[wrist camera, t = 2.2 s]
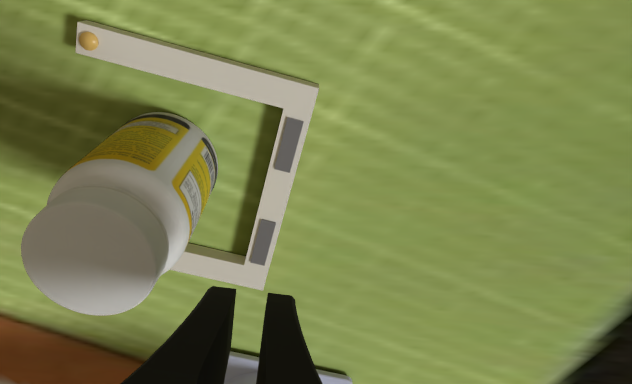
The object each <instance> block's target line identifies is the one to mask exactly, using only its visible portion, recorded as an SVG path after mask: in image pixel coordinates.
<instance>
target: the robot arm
mask: <svg viewBox="0 0 632 384" xmlns="http://www.w3.org/2000/svg"><path fill="white" fill-rule="evenodd" d="M235 296H236V289H231V288H223V287H215V286H212V287H211V288H209V289H208V290H207V292H206V293H205V295H204V296H203V298H202V299H201V300H200V302H199V303H198V304H197V306H196V307H195V308H194V310H193V311H192V312H191V313H190V314H189V316H188V317H187V318H186V319H185V321H184V322H183V323H182V324H181V325H180V326H179V327H178V328H177V330H176V331H175V332H174V333H173V334H172V335H171V336H170V337H169V338H168V340H167V341H166V342H165V343H164V344H163V345H162V346H161V347H160V348H159V349H158V350H157V351H156V352H155V353H154V354H153V355H152V356H151V357H150V358H149V359H148V360H147V361H146V362H145V363H143V364H142V365H141V366H140V367H139V368H138V369H137V370H136V371H135V372H134V373H132V374H131V375H130V376H129V377H128V378H127V379H125V380H124V381H123V382H122V383H121V384H352V379H351V378H350V377H349V376H346V375H342V374H337V373H332V372H327V371H323V370H318V369H316V368H315V366H314V363H313V361H312V359H311V356H310V353H309V351H308V348H307V345H306V343H305V340H304V337H303V334H302V331H301V327H300V324H299V320H298V316H297V311H296V305H295V299H294V298H293V297H292V296H290V295H281V294H273V293H268V297H267V303H266V310H265V317H264V325H263V333H262V341H261V348H260V356H259V357H255V356H251V355H246V354H241V353H236V352H231V351H230V349H231V339H232V328H233V318H234V307H235Z"/></svg>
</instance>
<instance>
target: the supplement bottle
mask: <svg viewBox="0 0 632 384" xmlns="http://www.w3.org/2000/svg"><path fill="white" fill-rule="evenodd" d="M217 174H218V161H217V156H216V152H215V149H214V147H213V145H212V143H211V142H210V140H209V138H208V137H207V136H206V135H205V133H204V132H203V131H202V130H201V129H200V128H198V127H197V126H196V125H194V124H193V123H191V122H190V121H188V120H187V119H184V118H182V117H180V116H178V115H175V114H171V113H166V112H152V113H146V114H142V115H140V116H137V117H135V118H133V119H131V120H130V121H128V122H127V123H126V124H124V125H123V126H122V127H120V128H119V129H118V130H117V131H116V132H114V133H113V134H112V135H111V136H110V137H108V138H107V139H106V140H105V141H103V142H102V143H101V144H100V145H98V146H97V147H96V148H95V149H94V150H92V151H91V152H90V153H89V154H87V155H86V156H85V157H84V158H83V159H81V160H80V161H79V162H78V163H76V164H75V165H74V166H73V167H71V168H70V169H69V170H68V171H66V172H65V173H64V174H63V175H62V177H61V178H60V179H59V180H58V181H57V183H56V184H55V186H54V187H53V189H52V191H51V193H50V195H49V198H48V201H47V206H46V207H45V208H43V209H42V210H41V211H40V212H39V213H38V214H37V215H36V216H35V217H34V218H33V219H32V221H31V222H30V223H29V225H28V226H27V228H26V230H25V232H24V235H23V238H22V244H21V254H22V259H23V264H24V267H25V269H26V272H27V274H28V275H29V277H30V279H31V280H32V281H33V283H34V284H35V285H36V286H37V288H38V289H39V290H40V291H41V292H43V293H44V294H45V295H46V296H47V297H48V298H50V299H51V300H52V301H54V302H56V303H57V304H59V305H61V306H63V307H65V308H68V309H70V310H73V311H76V312H79V313H83V314H89V315H114V314H118V313H122V312H125V311H127V310H129V309H131V308H133V307H135V306H137V305H138V304H139V303H141V302H142V301H143V300H144V299H145V298H146V297H147V296H148V295H149V293H150V292H151V290H152V289H153V287H154V285H155V283H156V282H157V280H158V278H159V277H160V276H161V275H162V274H164V273H165V272H167V271H168V270H169V269H170V268H172V267H173V266H174V265H175V263H176V262H177V261H178V260H179V259H180V257H181V256H182V254H183V253H184V251H185V249H186V247H187V244H188V242H189V240H190V238H191V236H192V233H193V231H194V229H195V227H196V225H197V222H198V220H199V218H200V216H201V214H202V212H203V209H204V207H205V205H206V203H207V201H208V198H209V196H210V194H211V192H212V190H213V188H214V185H215V182H216V179H217Z"/></svg>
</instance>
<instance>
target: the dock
mask: <svg viewBox="0 0 632 384" xmlns="http://www.w3.org/2000/svg"><path fill="white" fill-rule="evenodd" d="M76 53H78V54H82V55H86V56H90V57H93V58H97V59H101V60H104V61H108V62H112V63H116V64H119V65H123V66H127V67H131V68H134V69H138V70H142V71H145V72H149V73H153V74H157V75H160V76H164V77H168V78H172V79H175V80H179V81H183V82H186V83H190V84H194V85H198V86H201V87H205V88H209V89H212V90H216V91H220V92H224V93H227V94H231V95H235V96H239V97H242V98H246V99H250V100H253V101H257V102H261V103H265V104H268V105H272V106H276V107H279V108H283V113H282V116H281V120H280V124H279V128H278V132H277V136H276V140H275V144H274V148H273V152H272V156H271V160H270V164H269V168H268V172H267V176H266V180H265V184H264V188H263V192H262V196H261V200H260V204H259V208H258V212H257V216H256V220H255V224H254V228H253V232H252V236H251V240H250V244H249V248H248V251H247V255H246V256H242V255H238V254H234V253H229V252H225V251H221V250H216V249H212V248H208V247H203V246H199V245H195V244H191V243H188V244H187V247H186V249H185V251H184V253H183V254H182V256H181V257H180V259H179V260H178V261H177V262H176V263H175V265H174V266H173V267H172V268H170V269H169V270H174V271H178V272H183V273H187V274H192V275H196V276H201V277H205V278H209V279H214V280H218V281H223V282H227V283H232V284H236V285H241V286H245V287H250V288H254V289H258V290H263V288H264V284H265V281H266V277H267V274H268V270H269V266H270V263H271V259H272V256H273V252H274V248H275V245H276V241H277V238H278V234H279V230H280V227H281V223H282V220H283V216H284V213H285V209H286V205H287V202H288V198H289V195H290V191H291V187H292V184H293V180H294V177H295V173H296V169H297V166H298V162H299V159H300V155H301V151H302V148H303V144H304V141H305V137H306V133H307V130H308V126H309V123H310V119H311V115H312V112H313V108H314V105H315V101H316V98H317V94H318V90H319V84H316V83H312V82H309V81H305V80H301V79H298V78H294V77H290V76H287V75H283V74H280V73H276V72H272V71H269V70H265V69H262V68H258V67H254V66H251V65H247V64H243V63H240V62H236V61H233V60H229V59H225V58H222V57H218V56H215V55H211V54H207V53H204V52H200V51H196V50H193V49H189V48H186V47H182V46H178V45H175V44H171V43H168V42H164V41H160V40H157V39H153V38H149V37H146V36H142V35H139V34H135V33H131V32H128V31H124V30H121V29H117V28H113V27H110V26H106V25H102V24H99V23H95V22H92V21H88V20H85V21H80V22H78V23H77V38H76Z"/></svg>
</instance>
